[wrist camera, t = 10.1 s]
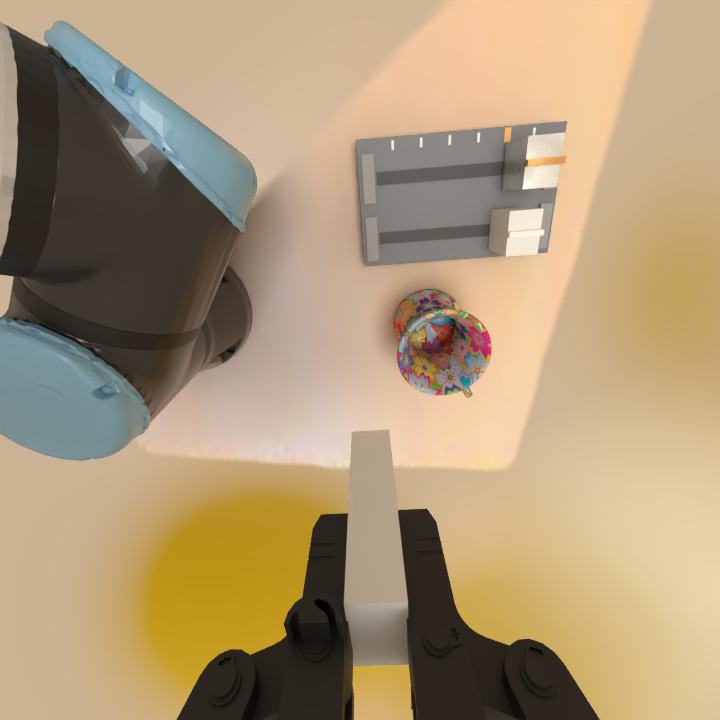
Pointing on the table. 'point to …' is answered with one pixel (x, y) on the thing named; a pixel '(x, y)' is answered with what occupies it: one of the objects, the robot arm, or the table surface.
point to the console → (449, 197)
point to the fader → (533, 162)
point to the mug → (440, 344)
